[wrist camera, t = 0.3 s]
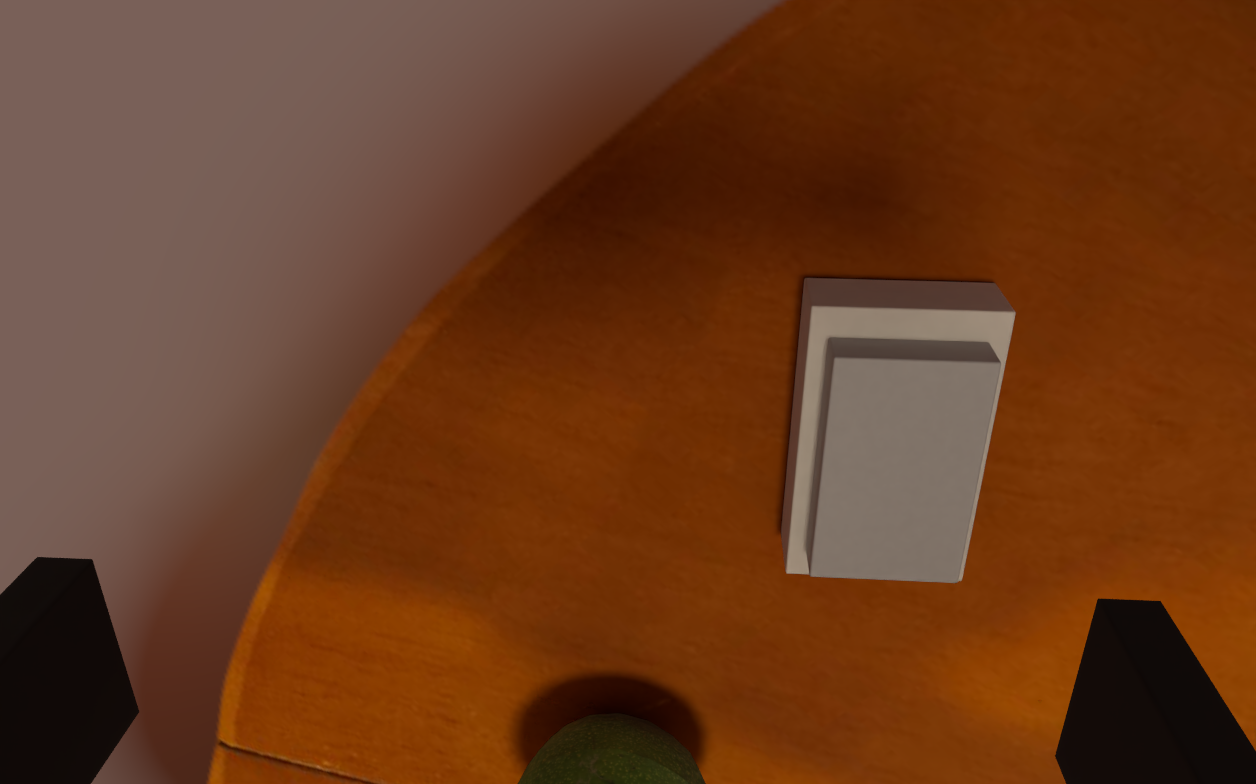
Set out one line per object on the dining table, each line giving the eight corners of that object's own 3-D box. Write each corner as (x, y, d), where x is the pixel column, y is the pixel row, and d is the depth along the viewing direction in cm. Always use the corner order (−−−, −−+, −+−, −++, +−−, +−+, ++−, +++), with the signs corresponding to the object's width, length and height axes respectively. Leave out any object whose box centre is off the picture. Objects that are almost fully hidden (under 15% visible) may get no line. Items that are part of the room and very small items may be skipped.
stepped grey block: (804, 277, 32) (816, 325, 28) (995, 282, 31) (1030, 331, 28) (780, 533, 36) (788, 600, 33) (947, 539, 36) (972, 608, 33)
